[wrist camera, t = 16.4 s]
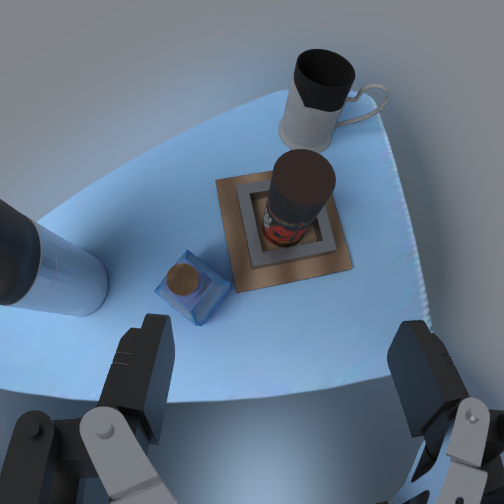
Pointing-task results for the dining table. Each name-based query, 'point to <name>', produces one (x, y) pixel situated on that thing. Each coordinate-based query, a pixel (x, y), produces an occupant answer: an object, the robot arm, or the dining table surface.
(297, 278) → the locating plate
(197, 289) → the perfume bottle
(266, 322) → the dining table surface
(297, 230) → the deodorant
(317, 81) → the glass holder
